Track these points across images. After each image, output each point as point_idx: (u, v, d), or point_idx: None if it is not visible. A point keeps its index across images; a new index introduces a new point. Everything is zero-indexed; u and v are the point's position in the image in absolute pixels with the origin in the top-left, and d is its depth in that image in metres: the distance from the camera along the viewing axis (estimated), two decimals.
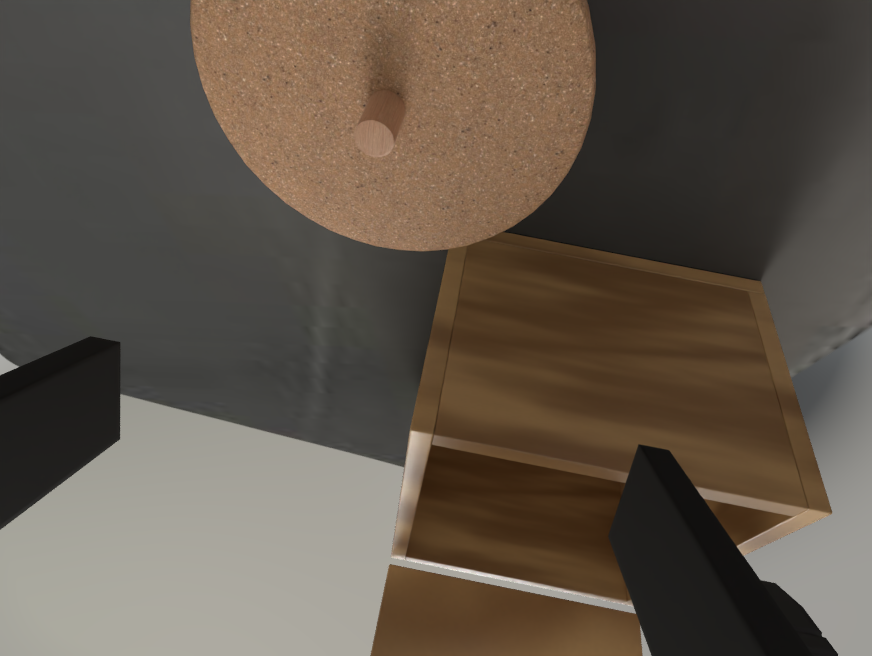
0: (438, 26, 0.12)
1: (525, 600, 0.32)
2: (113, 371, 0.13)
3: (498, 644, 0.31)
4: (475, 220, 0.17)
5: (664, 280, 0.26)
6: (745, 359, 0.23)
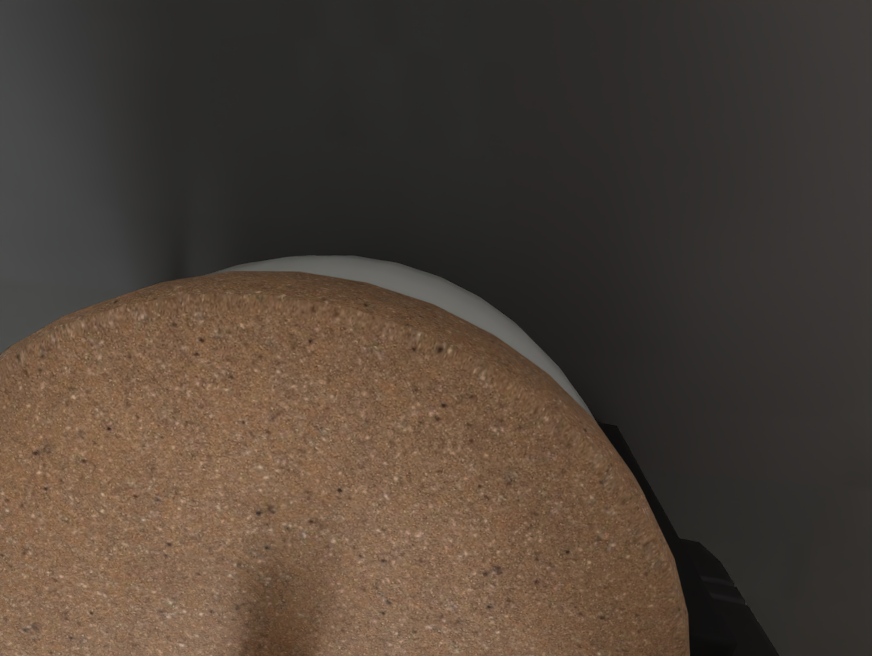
0: (386, 567, 0.06)
1: None
2: None
3: None
4: None
5: None
6: None
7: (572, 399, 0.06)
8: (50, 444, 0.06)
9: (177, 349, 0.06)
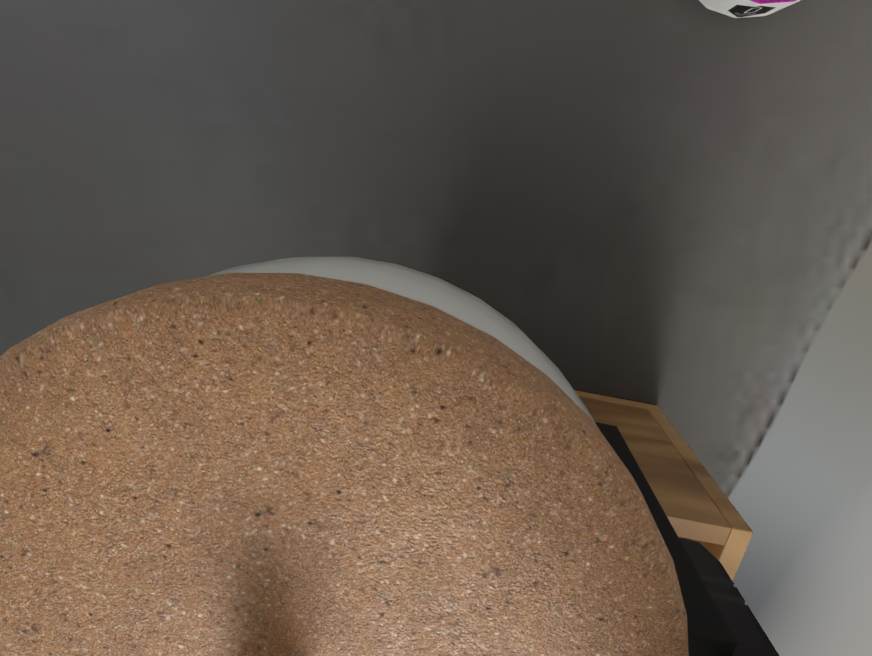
0: (385, 569, 0.06)
1: None
2: None
3: None
4: None
5: None
6: (655, 442, 0.28)
7: (571, 401, 0.06)
8: (49, 446, 0.06)
9: (176, 351, 0.06)
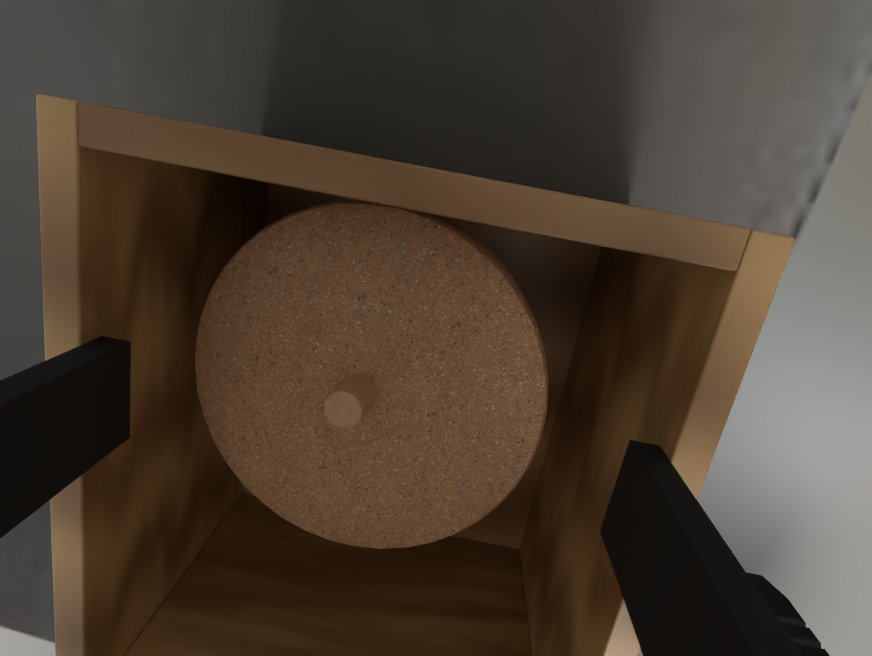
0: (411, 324, 0.14)
1: None
2: (123, 371, 0.13)
3: None
4: (437, 511, 0.16)
5: None
6: None
7: (494, 257, 0.15)
8: (276, 268, 0.15)
9: (332, 226, 0.14)
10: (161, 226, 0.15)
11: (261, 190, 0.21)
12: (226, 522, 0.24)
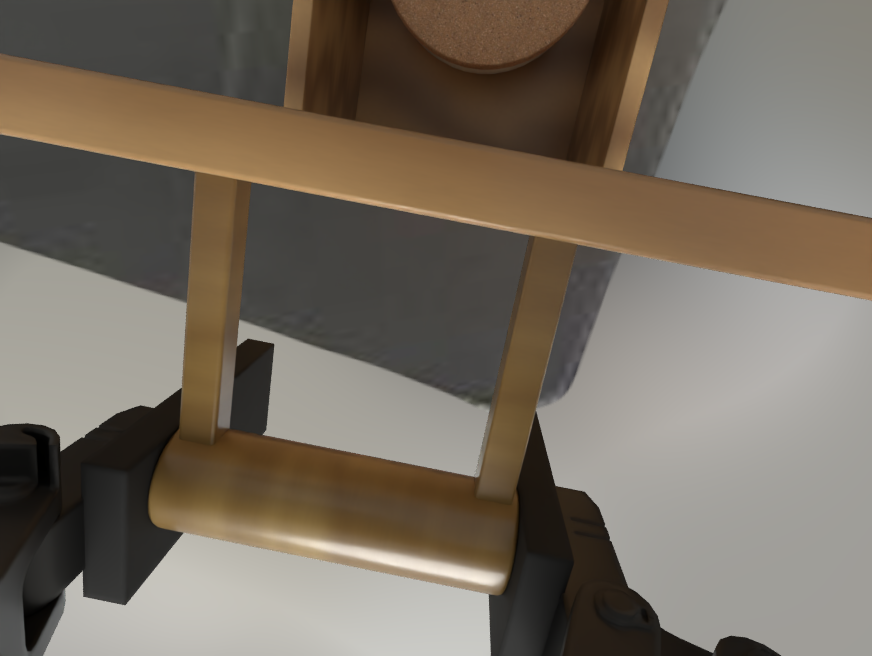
0: None
1: None
2: (268, 370, 0.15)
3: None
4: (537, 26, 0.25)
5: None
6: None
7: None
8: None
9: None
10: None
11: None
12: None
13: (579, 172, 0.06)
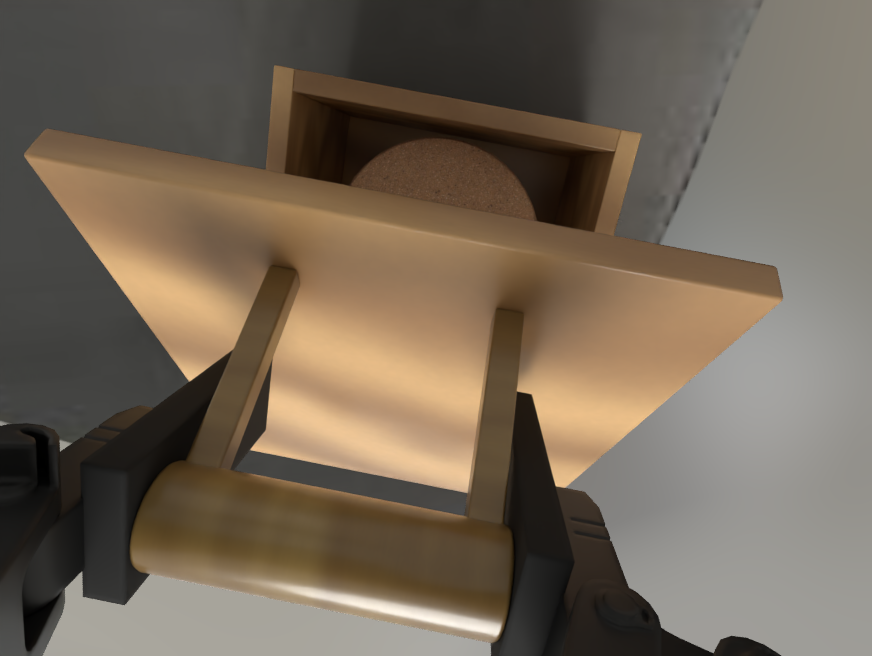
0: (465, 206, 0.26)
1: None
2: None
3: None
4: None
5: None
6: None
7: None
8: (388, 176, 0.26)
9: (421, 151, 0.26)
10: (309, 143, 0.26)
11: (345, 135, 0.33)
12: None
13: (521, 221, 0.11)
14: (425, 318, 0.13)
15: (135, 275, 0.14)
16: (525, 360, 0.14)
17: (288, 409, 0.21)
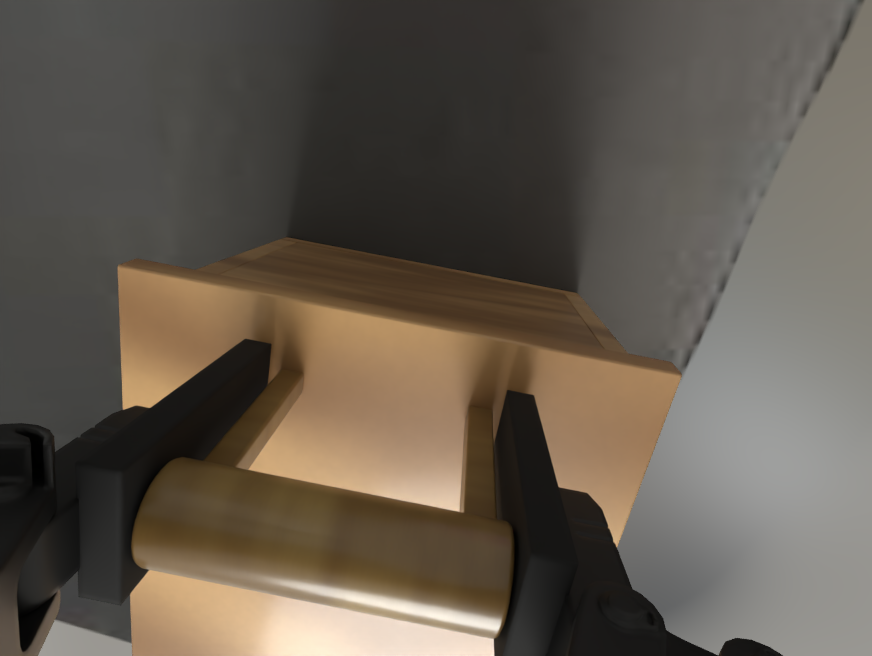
0: None
1: None
2: (265, 369, 0.15)
3: None
4: None
5: (483, 279, 0.27)
6: (557, 312, 0.23)
7: None
8: None
9: None
10: None
11: None
12: None
13: (485, 327, 0.15)
14: (407, 426, 0.16)
15: (147, 394, 0.16)
16: None
17: (232, 608, 0.19)
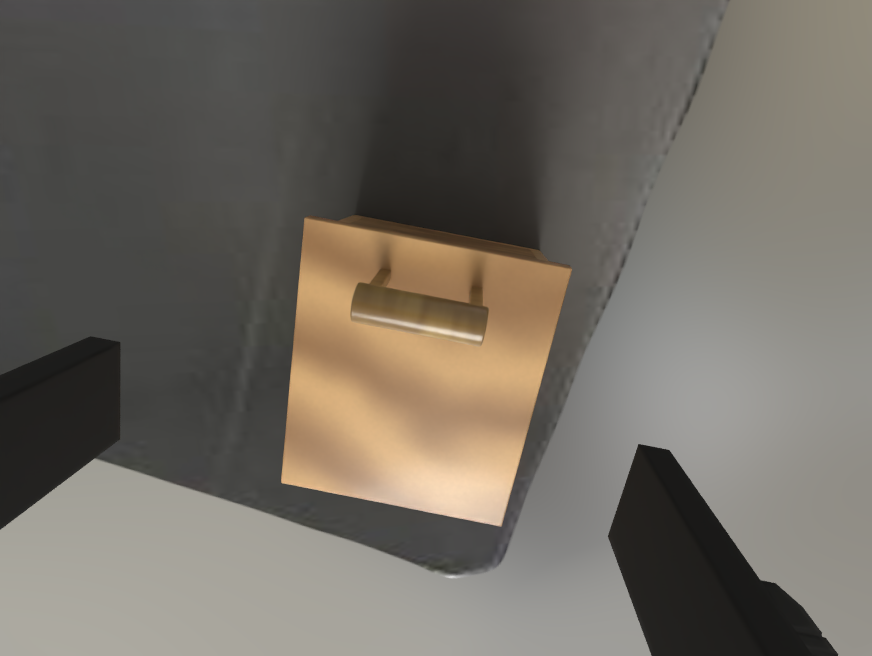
0: None
1: None
2: (113, 371, 0.13)
3: None
4: None
5: (479, 240, 0.43)
6: (522, 255, 0.39)
7: None
8: None
9: None
10: None
11: None
12: None
13: (479, 248, 0.31)
14: (441, 298, 0.32)
15: (311, 283, 0.32)
16: None
17: (344, 407, 0.35)
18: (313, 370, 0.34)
